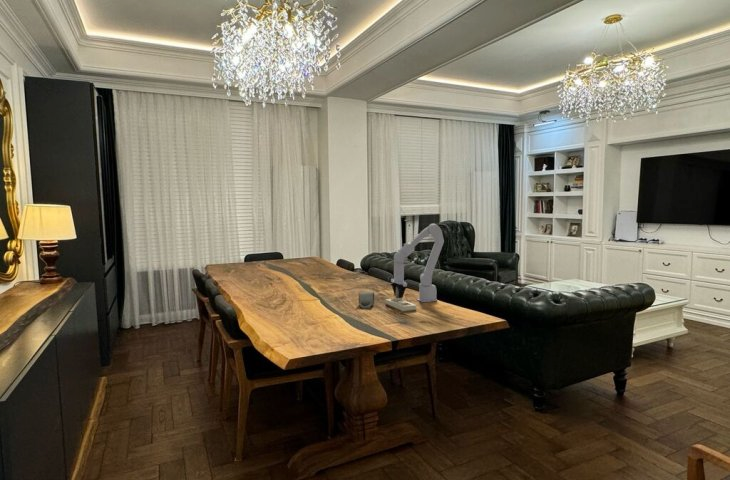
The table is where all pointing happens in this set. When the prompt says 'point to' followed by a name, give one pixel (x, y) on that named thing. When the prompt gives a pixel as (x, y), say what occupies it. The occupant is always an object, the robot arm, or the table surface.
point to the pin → (397, 293)
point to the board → (400, 305)
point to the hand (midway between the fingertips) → (398, 296)
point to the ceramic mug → (366, 299)
